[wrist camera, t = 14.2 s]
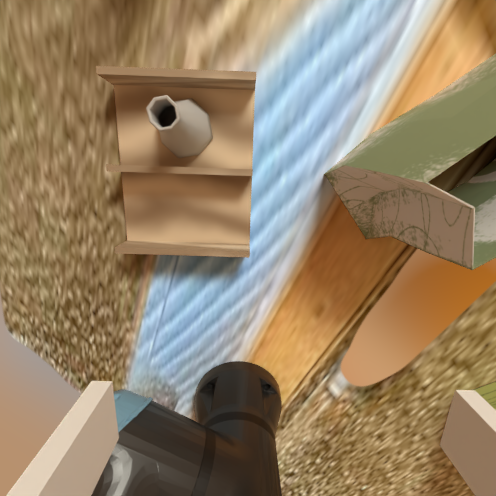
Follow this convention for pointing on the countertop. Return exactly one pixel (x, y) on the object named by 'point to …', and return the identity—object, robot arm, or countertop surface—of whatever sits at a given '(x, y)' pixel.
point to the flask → (180, 125)
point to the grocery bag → (428, 174)
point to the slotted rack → (185, 163)
